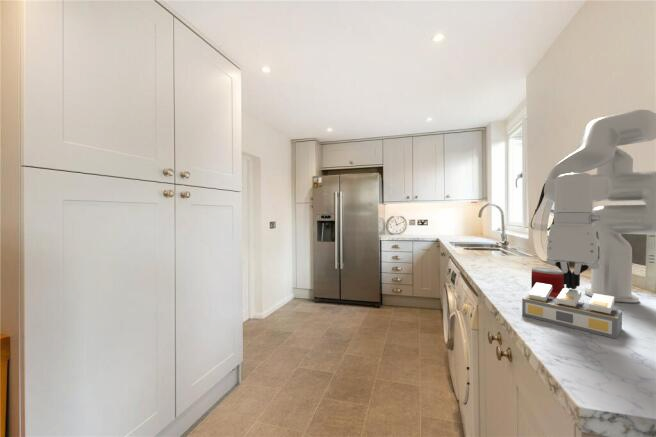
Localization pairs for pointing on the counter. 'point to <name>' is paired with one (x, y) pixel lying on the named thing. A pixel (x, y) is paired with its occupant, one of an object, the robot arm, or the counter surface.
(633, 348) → the counter surface
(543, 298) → the rocker
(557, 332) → the counter surface
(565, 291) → the rocker
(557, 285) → the canned food
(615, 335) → the switch unit
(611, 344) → the counter surface
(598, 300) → the rocker
